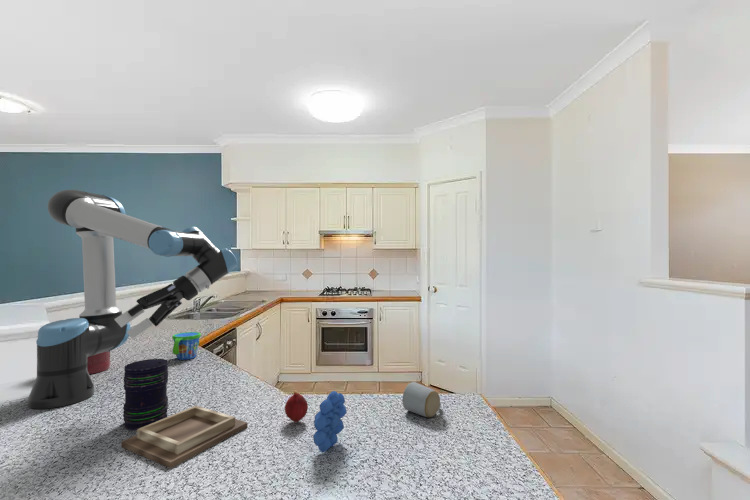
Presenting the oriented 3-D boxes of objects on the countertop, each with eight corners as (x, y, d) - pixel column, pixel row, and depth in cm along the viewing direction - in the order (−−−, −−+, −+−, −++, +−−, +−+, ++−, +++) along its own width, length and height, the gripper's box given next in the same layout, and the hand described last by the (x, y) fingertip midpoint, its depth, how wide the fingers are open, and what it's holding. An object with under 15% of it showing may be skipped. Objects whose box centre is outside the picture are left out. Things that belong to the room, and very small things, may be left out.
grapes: (328, 431, 89) (328, 382, 89) (352, 437, 86) (352, 386, 86) (299, 455, 78) (299, 399, 78) (325, 462, 75) (325, 404, 75)
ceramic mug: (426, 422, 93) (426, 392, 93) (401, 413, 99) (401, 385, 99) (448, 410, 101) (448, 382, 101) (423, 402, 107) (423, 376, 107)
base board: (121, 446, 82) (121, 432, 82) (200, 412, 99) (200, 401, 99) (170, 468, 73) (170, 452, 73) (247, 427, 91) (247, 414, 91)
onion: (311, 418, 96) (311, 388, 96) (300, 428, 90) (300, 396, 90) (292, 415, 97) (292, 386, 98) (280, 425, 92) (280, 393, 92)
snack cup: (188, 352, 163) (188, 330, 163) (209, 353, 161) (209, 330, 161) (161, 362, 147) (162, 337, 147) (184, 364, 145) (184, 338, 145)
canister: (116, 369, 139) (117, 323, 139) (75, 378, 128) (75, 328, 128) (102, 363, 146) (102, 319, 146) (61, 372, 135) (62, 325, 135)
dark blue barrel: (119, 434, 88) (120, 372, 88) (126, 418, 96) (126, 361, 97) (167, 425, 92) (167, 366, 93) (168, 410, 101) (169, 357, 101)
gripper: (196, 277, 103) (121, 328, 92) (202, 304, 124) (141, 348, 112) (178, 259, 104) (102, 306, 92) (187, 289, 125) (126, 331, 113)
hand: (123, 329), depth 102 cm, fingers open, 13 cm apart
